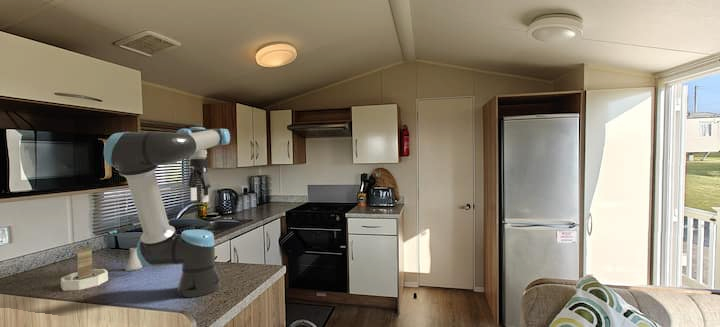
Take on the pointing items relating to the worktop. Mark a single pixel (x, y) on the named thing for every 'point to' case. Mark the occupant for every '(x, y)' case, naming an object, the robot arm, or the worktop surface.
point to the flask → (133, 261)
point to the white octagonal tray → (84, 280)
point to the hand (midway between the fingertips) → (199, 201)
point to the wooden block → (84, 262)
